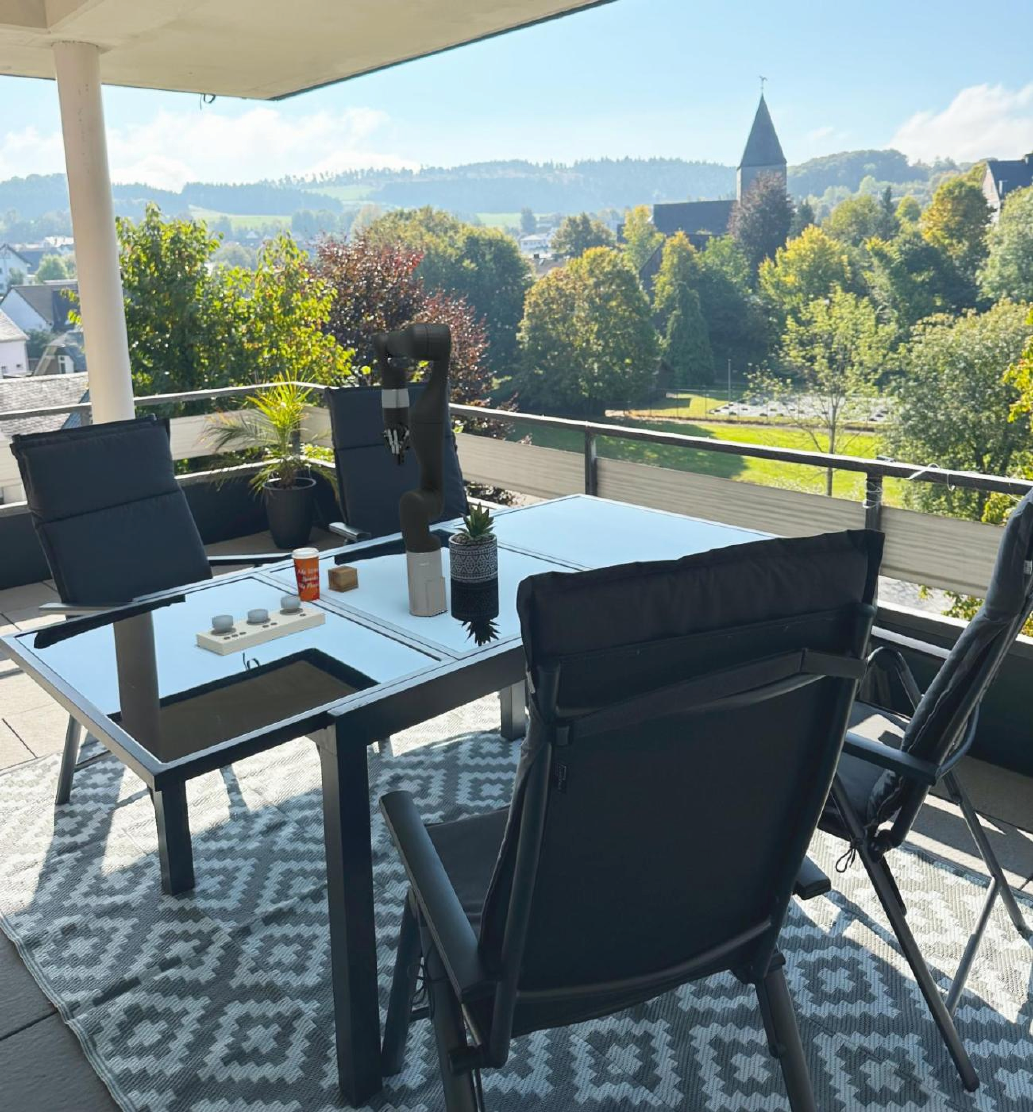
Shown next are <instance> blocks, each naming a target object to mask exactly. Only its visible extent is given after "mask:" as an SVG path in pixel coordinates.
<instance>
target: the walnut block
mask: <svg viewBox="0 0 1033 1112" xmlns="http://www.w3.org/2000/svg"><path fill="white" fill-rule="evenodd" d="M358 576H359V574H358V568H356V567H352V566H350V565H340V566H337V567H333V568H330V569H327V578H328V579H327V580H328V589H329V590H330V591H334V592H337V593H340V594H343V593H347V592H351V591H354V590H356V589H359V578H358Z"/></svg>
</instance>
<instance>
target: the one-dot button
mask: <svg viewBox="0 0 1033 1112" xmlns="http://www.w3.org/2000/svg"><path fill="white" fill-rule="evenodd" d="M279 601H280V609H282V608H283V609H293V608H297V607H300V606H301V604H302V603H301V600H300V597H299V595H289V596H288V595H287V596H284V597H282V598H280V600H279Z"/></svg>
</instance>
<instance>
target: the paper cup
mask: <svg viewBox="0 0 1033 1112" xmlns="http://www.w3.org/2000/svg"><path fill="white" fill-rule="evenodd" d="M320 555H321V553H320V552H319V550H318V549H317V548H315V547H302V548H297V549H294V550H293V551H292V554H291V558H292V559H293V561H292V562H293V566H294V575H295V580H296V585H297V586H296V587H297V592H298V593H297V594H298V596H299V597H300V602H314V600H315V601H317V599H318V600H319V599H320V592H321V591H320V588H321V587H320V562H319V561H320V559H319V556H320Z"/></svg>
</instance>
